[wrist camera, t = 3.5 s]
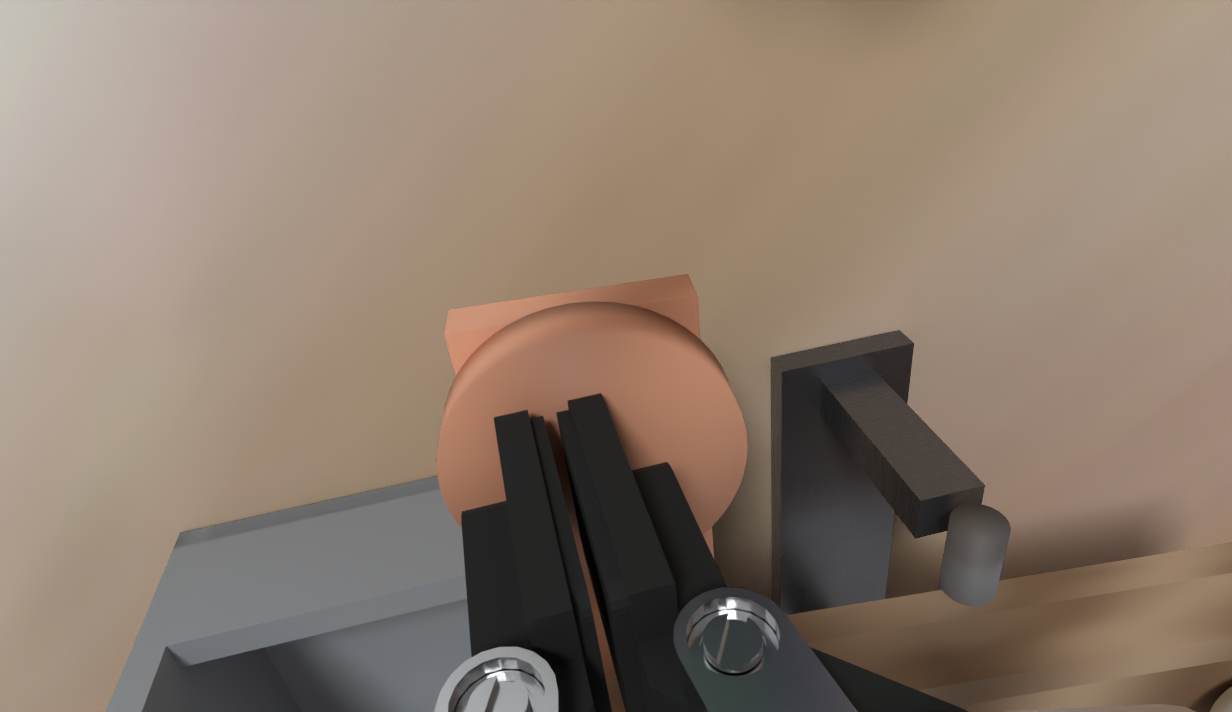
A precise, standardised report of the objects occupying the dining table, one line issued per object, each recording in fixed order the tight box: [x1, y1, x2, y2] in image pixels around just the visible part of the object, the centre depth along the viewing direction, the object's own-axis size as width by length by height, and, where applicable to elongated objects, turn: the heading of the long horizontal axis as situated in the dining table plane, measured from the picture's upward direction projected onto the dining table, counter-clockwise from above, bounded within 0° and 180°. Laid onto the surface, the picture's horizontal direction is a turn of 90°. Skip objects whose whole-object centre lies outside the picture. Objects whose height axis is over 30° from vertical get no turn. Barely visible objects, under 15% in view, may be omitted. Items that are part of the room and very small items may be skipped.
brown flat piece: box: [437, 274, 1232, 712], centre depth 17 cm, size 21×21×3 cm
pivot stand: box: [771, 330, 985, 615], centre depth 23 cm, size 4×15×6 cm, turn 7°
